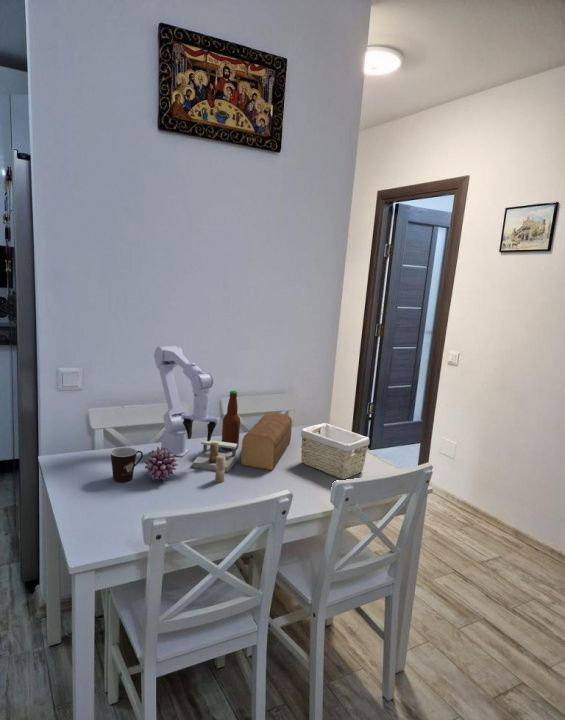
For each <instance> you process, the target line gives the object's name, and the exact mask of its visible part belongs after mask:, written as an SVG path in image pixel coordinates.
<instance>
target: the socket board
mask: <svg viewBox="0 0 565 720" xmlns="http://www.w3.org/2000/svg"><path fill="white" fill-rule="evenodd" d="M213 442H216V443H218V444H219V447H218V448H220V447H221V448H222V447H226V448H232V450H231V451H232V452H231V453H223V452H218V456H219V455H222V456H225V457H226V459H225V473H229V472H230V470H231V469H232V467H233V466H234V464H235V463H236V462H237V457H238V455H237V454H236V453H237V449H236V447H237V446H238V447H239V445H238V444H235V443H228V442H222V441H219V440H214V439H213V440H212V439H211V440H210V441H207V439H203V440H202V441H201V443H200V444H201V445H202V446H203V448H202V449H203V450H202V452H200V454H199V455H198V456H197V457H196V458H195V459H194V460H193V461H192V468H195V469H203V470H210V471H215V472H216V464H214V463H209V458H210V450H208V446H210V443H213Z"/></svg>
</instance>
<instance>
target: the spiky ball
mask: <svg viewBox="0 0 565 720" xmlns="http://www.w3.org/2000/svg"><path fill="white" fill-rule="evenodd" d="M168 449H169V448H167V449H166V450H164V449H163V448H161V447H159V446H157V447H156V450H154V449H152V450H151V452H150V451H148V455H149V456H146V455H145V458H146V459H147V460H143V464H145V466H144V468H145V469H147V471H146V472H145V474H146V475H147V474H149V476H152V480H155V479H158V480H161V479H162V481H166V477H170V476H171V475H172V476H174V475H175V472H174V471H176V470H177V468H176V467H178V466H179V463H176V462H177V459H176V458H175V457H177V456H176V454H172V452H171V453H170V451H168Z"/></svg>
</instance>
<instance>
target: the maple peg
mask: <svg viewBox="0 0 565 720" xmlns="http://www.w3.org/2000/svg"><path fill="white" fill-rule="evenodd" d="M225 459H226V457H225V456H222V455H219V456H217V459H216V471H215V479H214V481H215V482H216V483H224V482H225V475H226V474H225V473H226V472H225Z"/></svg>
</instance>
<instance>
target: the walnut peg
mask: <svg viewBox="0 0 565 720" xmlns="http://www.w3.org/2000/svg"><path fill="white" fill-rule="evenodd" d="M219 448H220V447H219V444H218V443H216V442H213V443H210V445H209V451H210V458H209V463H214V464H216V459H217V456H218V453H219Z"/></svg>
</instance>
